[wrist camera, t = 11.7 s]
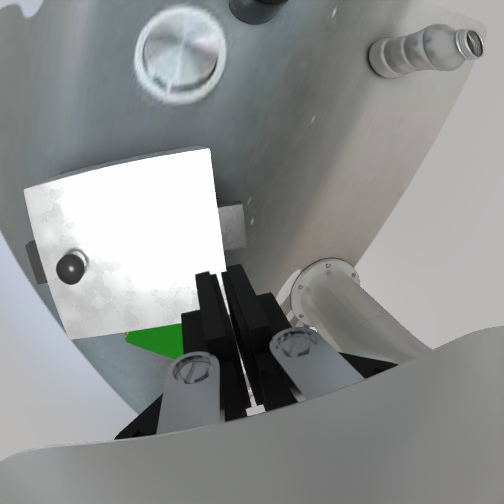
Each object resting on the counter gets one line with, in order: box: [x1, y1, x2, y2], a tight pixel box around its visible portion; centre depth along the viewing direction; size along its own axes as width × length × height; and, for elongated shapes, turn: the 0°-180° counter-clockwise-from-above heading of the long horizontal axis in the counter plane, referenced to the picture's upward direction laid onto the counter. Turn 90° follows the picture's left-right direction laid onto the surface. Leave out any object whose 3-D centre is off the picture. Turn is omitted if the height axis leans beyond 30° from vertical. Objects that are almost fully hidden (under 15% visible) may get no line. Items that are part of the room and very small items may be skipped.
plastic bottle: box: [369, 24, 484, 78], centre depth 32 cm, size 6×7×20 cm
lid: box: [24, 149, 230, 340], centre depth 31 cm, size 18×20×3 cm
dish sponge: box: [126, 323, 184, 359], centre depth 49 cm, size 7×14×2 cm, turn 60°
